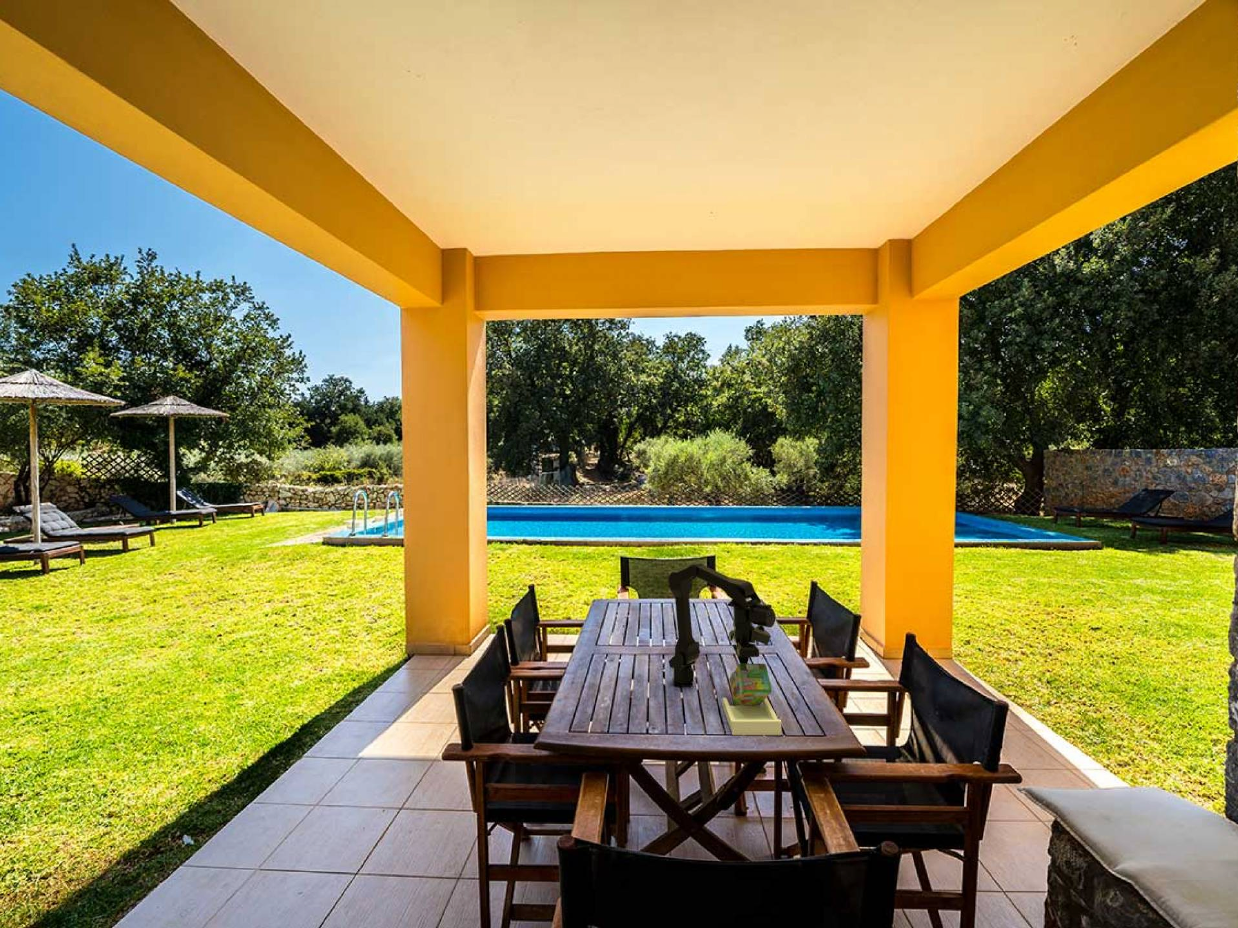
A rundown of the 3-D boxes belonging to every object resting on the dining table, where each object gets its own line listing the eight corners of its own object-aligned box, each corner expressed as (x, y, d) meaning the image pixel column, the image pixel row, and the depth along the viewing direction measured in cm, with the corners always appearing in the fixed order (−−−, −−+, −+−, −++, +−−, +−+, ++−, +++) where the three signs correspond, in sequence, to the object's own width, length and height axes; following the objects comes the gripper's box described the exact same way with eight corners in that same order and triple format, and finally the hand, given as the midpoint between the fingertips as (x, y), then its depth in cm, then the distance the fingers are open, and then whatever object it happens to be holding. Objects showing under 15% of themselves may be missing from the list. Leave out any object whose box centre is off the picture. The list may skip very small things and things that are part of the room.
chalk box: (733, 705, 187) (747, 687, 176) (728, 677, 193) (741, 658, 183) (761, 705, 189) (776, 688, 178) (755, 677, 195) (769, 658, 184)
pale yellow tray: (732, 734, 170) (732, 721, 170) (722, 706, 188) (722, 694, 188) (781, 734, 170) (781, 721, 169) (766, 706, 188) (766, 694, 188)
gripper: (775, 629, 179) (776, 680, 180) (761, 612, 198) (762, 658, 198) (738, 630, 180) (740, 681, 180) (728, 613, 198) (729, 659, 199)
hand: (744, 669), depth 189 cm, fingers closed
